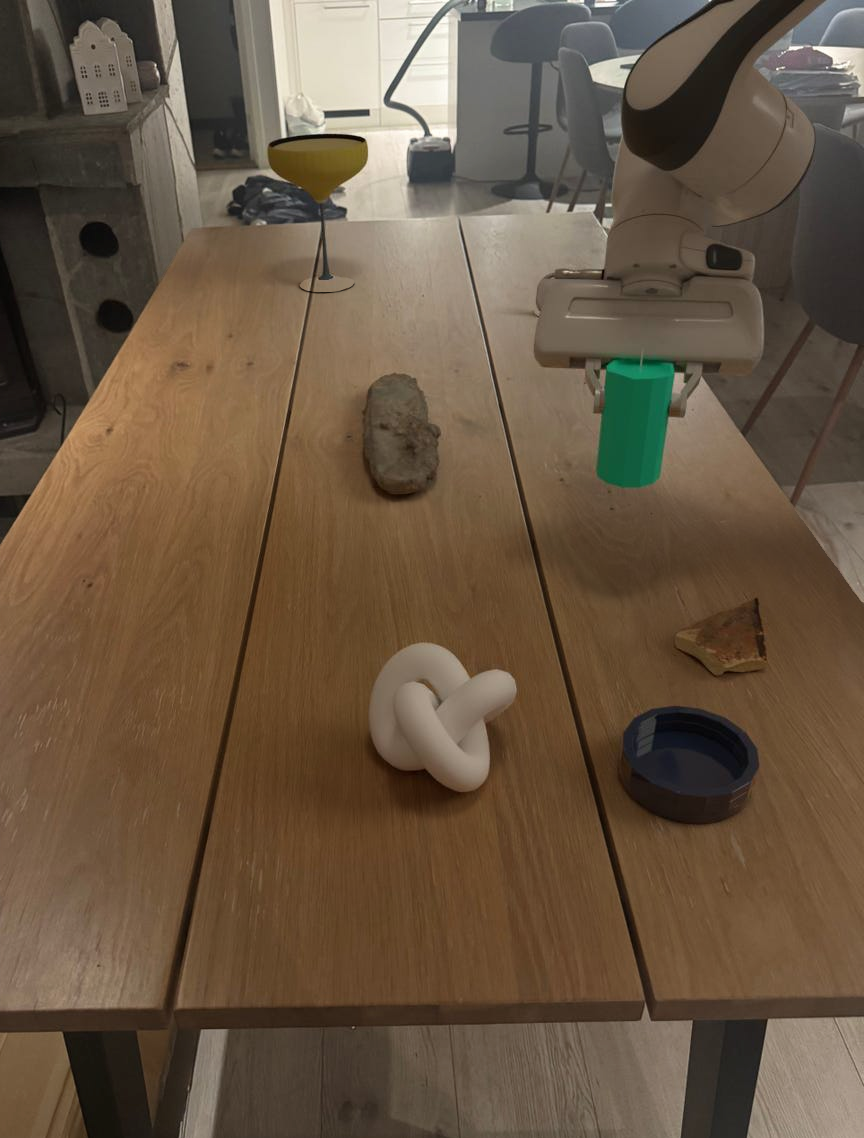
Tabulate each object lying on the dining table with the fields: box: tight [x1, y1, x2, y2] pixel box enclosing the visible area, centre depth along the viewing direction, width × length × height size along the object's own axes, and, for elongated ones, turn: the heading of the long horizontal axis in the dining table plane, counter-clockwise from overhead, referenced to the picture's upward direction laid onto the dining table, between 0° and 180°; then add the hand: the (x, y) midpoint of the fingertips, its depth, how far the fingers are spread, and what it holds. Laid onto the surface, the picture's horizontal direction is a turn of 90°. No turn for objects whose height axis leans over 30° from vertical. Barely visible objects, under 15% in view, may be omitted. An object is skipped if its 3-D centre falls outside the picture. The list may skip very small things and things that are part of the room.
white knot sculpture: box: [368, 642, 518, 793], centre depth 77 cm, size 11×12×9 cm
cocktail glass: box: [267, 133, 369, 280], centre depth 179 cm, size 18×18×25 cm
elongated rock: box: [361, 372, 442, 495], centre depth 127 cm, size 35×5×10 cm
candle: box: [595, 349, 676, 489], centre depth 88 cm, size 6×6×12 cm
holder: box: [618, 705, 760, 825], centre depth 76 cm, size 10×10×3 cm
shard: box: [674, 597, 769, 676], centre depth 89 cm, size 11×8×2 cm
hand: (638, 413), depth 87 cm, fingers closed on candle, 5 cm apart
